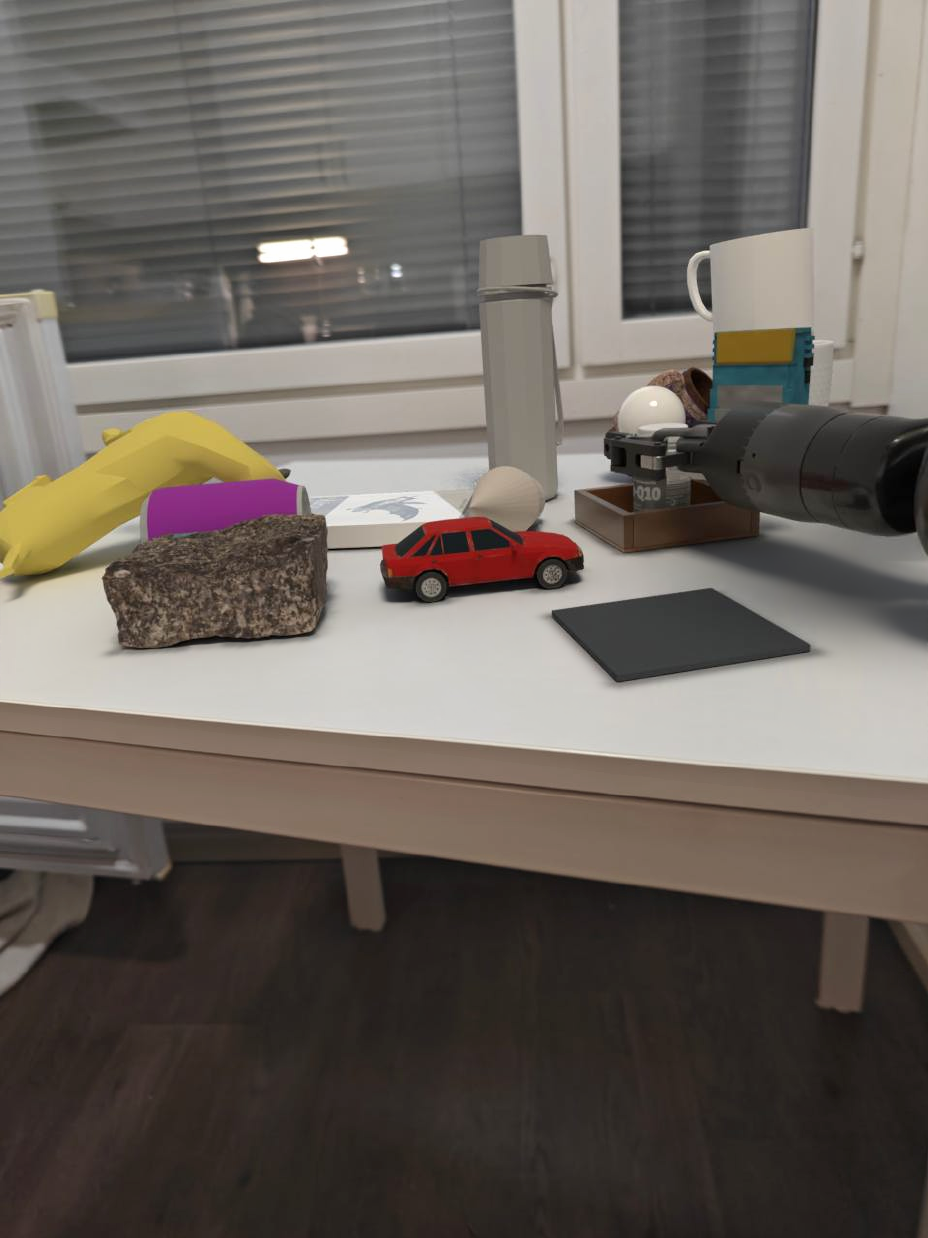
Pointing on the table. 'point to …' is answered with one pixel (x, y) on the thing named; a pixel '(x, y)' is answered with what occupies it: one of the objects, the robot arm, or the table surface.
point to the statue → (118, 487)
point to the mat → (674, 633)
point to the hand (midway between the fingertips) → (652, 438)
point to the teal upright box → (760, 368)
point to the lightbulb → (650, 409)
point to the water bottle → (520, 357)
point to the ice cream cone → (508, 498)
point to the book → (386, 515)
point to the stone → (222, 582)
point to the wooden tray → (661, 518)
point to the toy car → (475, 556)
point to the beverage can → (218, 505)
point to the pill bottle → (665, 491)
